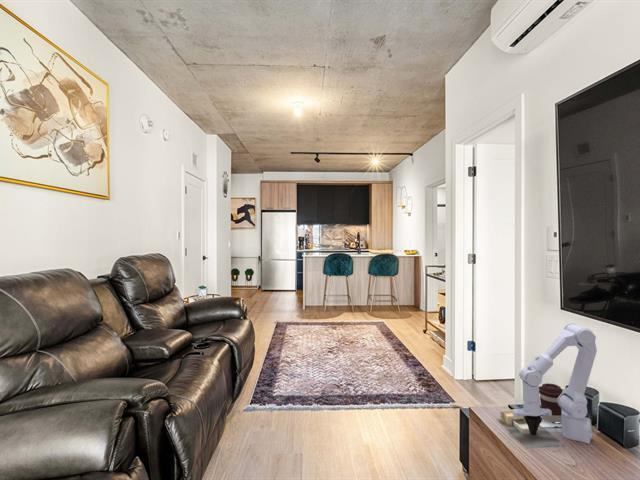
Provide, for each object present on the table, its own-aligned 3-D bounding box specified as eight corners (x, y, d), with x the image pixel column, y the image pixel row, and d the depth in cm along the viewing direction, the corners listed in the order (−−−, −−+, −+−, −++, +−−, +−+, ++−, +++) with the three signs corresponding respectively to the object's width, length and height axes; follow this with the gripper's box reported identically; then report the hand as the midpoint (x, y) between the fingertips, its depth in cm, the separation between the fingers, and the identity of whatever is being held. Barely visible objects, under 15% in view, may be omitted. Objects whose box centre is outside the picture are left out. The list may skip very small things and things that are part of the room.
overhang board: (566, 448, 138) (565, 434, 138) (526, 450, 138) (525, 436, 138) (529, 419, 161) (529, 407, 161) (495, 420, 161) (495, 409, 161)
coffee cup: (534, 419, 161) (533, 385, 161) (548, 413, 165) (546, 380, 165) (558, 429, 152) (556, 392, 152) (571, 422, 157) (570, 387, 157)
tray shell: (539, 434, 147) (539, 428, 147) (523, 434, 147) (523, 429, 147) (522, 419, 159) (521, 415, 159) (507, 420, 159) (507, 416, 159)
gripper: (542, 394, 151) (544, 428, 150) (507, 396, 150) (509, 430, 150) (554, 401, 144) (556, 437, 143) (517, 403, 143) (519, 439, 143)
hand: (533, 434), depth 146 cm, fingers closed, pressing on tray shell
